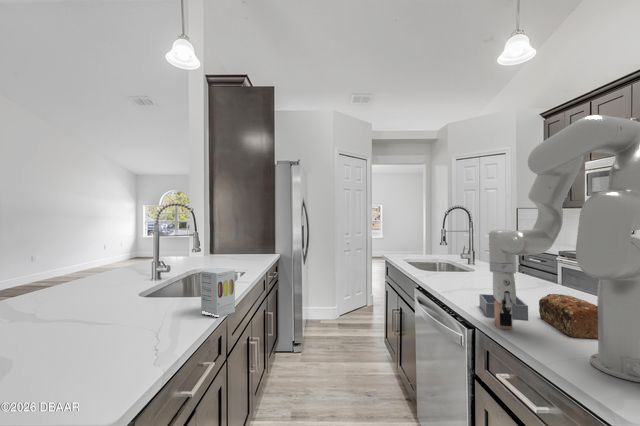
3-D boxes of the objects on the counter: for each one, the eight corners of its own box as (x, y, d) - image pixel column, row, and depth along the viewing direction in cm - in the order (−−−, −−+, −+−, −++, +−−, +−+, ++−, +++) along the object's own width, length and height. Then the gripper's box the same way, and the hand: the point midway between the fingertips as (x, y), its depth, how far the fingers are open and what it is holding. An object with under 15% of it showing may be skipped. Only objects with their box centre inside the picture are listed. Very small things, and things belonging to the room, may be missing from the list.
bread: (609, 341, 90) (608, 306, 90) (567, 338, 93) (566, 304, 93) (571, 319, 109) (571, 290, 109) (537, 317, 111) (536, 289, 111)
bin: (528, 320, 108) (528, 305, 108) (486, 317, 112) (486, 303, 112) (516, 309, 120) (516, 296, 120) (479, 306, 124) (479, 294, 124)
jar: (514, 330, 100) (514, 304, 100) (496, 328, 101) (496, 303, 101) (510, 324, 104) (509, 300, 104) (493, 323, 106) (492, 299, 106)
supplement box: (216, 318, 115) (215, 273, 115) (200, 314, 120) (199, 271, 120) (236, 311, 123) (235, 269, 124) (220, 308, 128) (219, 267, 128)
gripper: (523, 272, 93) (525, 333, 93) (508, 263, 110) (509, 315, 110) (495, 271, 96) (496, 331, 96) (484, 263, 112) (485, 313, 112)
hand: (503, 322), depth 103 cm, fingers closed on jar, 4 cm apart
